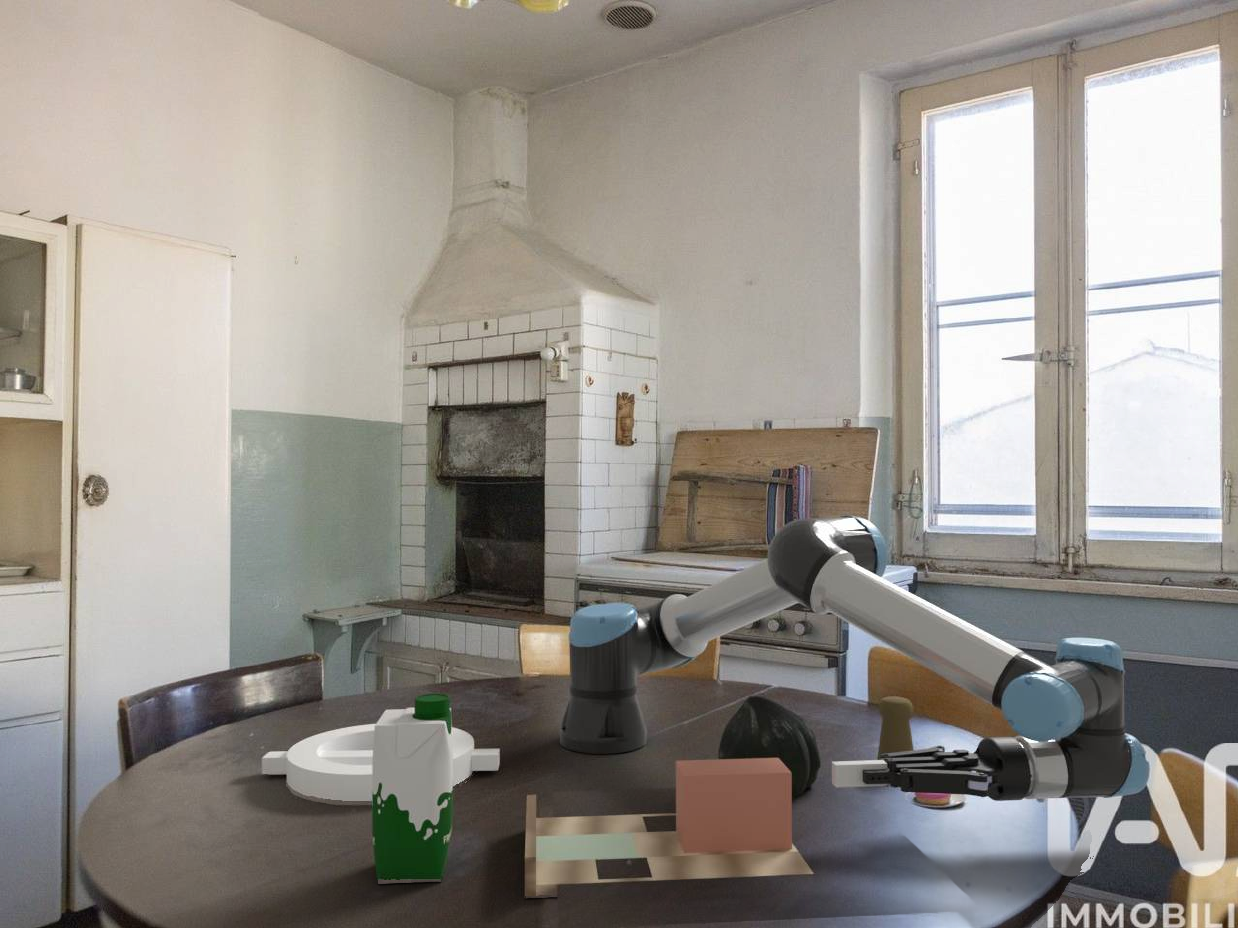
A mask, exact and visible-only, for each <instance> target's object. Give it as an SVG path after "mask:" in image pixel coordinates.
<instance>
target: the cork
mask: <svg viewBox="0 0 1238 928" xmlns="http://www.w3.org/2000/svg"><path fill="white" fill-rule="evenodd" d="M878 703H879V704H878V712H879V715H880V717H881V718H882V719H881V727H880V734H879V736H880V737H879V742H878V743H879V744H878V749H877V750H878V752H877V759H876V760H881V754H884V753H895V752H904V751H912V750H915V749H914V745H913V737H912V729H911V723H910V719H911V718H912V717H913V713H914V707H913V704H912V702H911V700H909V699H908V698H906V697H901V696H897V695H896V696H891V695H890V696H885V697H883V698H881V700H880V701H879V702H878Z"/></svg>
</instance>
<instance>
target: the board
mask: <svg viewBox="0 0 1238 928" xmlns="http://www.w3.org/2000/svg"><path fill="white" fill-rule="evenodd" d="M525 812H526V813H525V814H526V815H525V817H526V818H525V842H524V843H525V846H524V847H525V848H524V897H525V896H538V895H559V894H558V885H577V884H578V885H579V884H580V885H581V884H603V883H623V882H625V883H626V882H650V881H651V882H652V881H654V882H655V881H671V880H672V881H675V880H676V881H677V880H696V879H697V880H699V879H702V880H703V879H723V878H725V879H726V878H746V877H747V878H748V877H749V878H750V877H771V876H772V877H773V876H774V877H775V876H777V877H778V876H797V875H798V876H799V875H814V872H813V870H812V869H811V867H810V866H809V865H808V863H807V862H806V860H805V859H804V857H803V856H802V854H801V853H800V852H799V850H798V849H797V847H796V846H795V845H794V844H793V842H792V849H778V850H752V851H726V852H700V853H683V850H682V847H681V845H680V842H679V840H678V837H677V835H676V830H675V831H673V830H672V831H669V830H668V831H648V830H647V826H646V824H645V820H644V818H645V817H668V816H669V817H670V816H671V817H672V816H673V817H674V816H675V817H676V812H674V813H673V812H672V813H671V812H670V813H646V814H645V813H644V814H643V813H641V814H640V813H639V814H615V815H613V814H612V815H611V814H610V815H588V816H587V815H586V816H585V815H584V816H557V817H555V816H554V817H537V794H527V795H526V811H525ZM643 817H644V818H643ZM614 833H632V837H633V841H634V844H635V848H636V852H637V855H638V858H637V859H645V858H646V860H647V864H648V867H649V871H650V874H651V877H631V878H630V877H628V878H607V879H606V878H605V879H604V878H602V879H599V876H598V870H597V863H596V860H595V859H588V860H563V861H562V860H561V861H537V862H536V836H558V835H586V834H614Z"/></svg>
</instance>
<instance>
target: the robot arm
mask: <svg viewBox="0 0 1238 928" xmlns="http://www.w3.org/2000/svg"><path fill="white" fill-rule="evenodd" d="M888 554H889V553H888V548H887V543H886V541H885V538H884V536H883V534H882V532H881V531H880V530H879V529H878V527H877V526H876V525H875V524H874V523H872V522H871V521H870V520H867V519H866V518H862V517H860V516H854V515H847V514H846V515H845V514H844V515H840V516H834V517H831V516H830V517H813V518H811V517H808V518H800V519H799V518H798V519H795V520H792V521H790V522H788V523H786V524H784V525H783V526H782V527H781V528H779V529H778V530H777V532H776V533H775V534H774V535H773V537H772V539H771V541H770V542H769V546H768V549H767V558H765V559H763V560H761V561H759V562H756V563H755V564H752V565H750V566H748V567H747V568H744V569H743V570H741V571H738V572H736V573H735V574H732V575H730V576H728V577H726V578H724V579H722V580H719V581H717V582H716V583H713V584H711V585H710V586H707V587H705V588H703V589H701V590H700V591H697V592H695V593H693V594H691V595H688V596H687V595H684V594H681V593H679V594H678V593H677V594H675V593H674V594H672V595H669V596H668V597H665V598H662V599H661V600H659V601H657V602H654V603H652V604H650V605H648V606H644V607H638V608H636V607H635V606H634V605H633V604H631V603H628V602H627V603H626V602H608V603H597V604H592V605H589V606H584V607H583V608H580V609H579V610H576V611H575V612H574V613H573V615H572V616H571V618H570V625H569V626H570V627H569V628H570V629H569V634H568V641H569V642H568V643H569V699H568V702H567V705H566V710H565V712H564V715H563V718H562V722H561V725H560V728H559V745H561V747H564V748H565V749H568V750H571V751H573V752H578V753H583V754H597V755H599V754H600V755H602V754H603V755H606V754H607V755H609V754H621V753H627V752H631V751H635V750H638V749H641V748H643V747H644V746H646V745H647V741H648V738H647V737H648V732H647V727H646V723H645V721H644V716H643V713H642V710H641V708H640V703H639V701H638V700H639V699H638V696H637V693H638V692H637V688H638V687H637V676H639V675H644V674H647V673H653V672H659V671H662V670H663V671H664V670H668V669H676V668H680V667H683V666H685V665H688V664H689V663H691V662H693V661H694V660H695V659H696V658H697V657H698V656H699V655H701V654H702V653H704V651H705V650H706V648H707V646H708V643H709V642H711V641H713V640H716V639H717V638H719V637H722V636H724V635H727V634H729V633H731V632H734V631H736V630H738V629H741V628H743V627H745V626H747V625H750V624H752V623H755V622H758V621H759V620H762V619H764V618H767V617H769V616H771V615H773V614H776V613H778V612H780V611H782V610H784V609H787V608H789V607H792V606H794V605H796V604H801V605H802V606H804V607H805V608H807V609H809V610H811V611H813V612H814V613H815V614H818V615H825V614H829V613H831V614H832V615H833V616H836V617H838V618H839V619H841V620H842V621H845V622H847V624H850V625H852V626H853V627H855V628H857V629H858V630H859V631H862V632H864V633H866V634H867V635H869V636H871V637H872V638H874V639H876V640H877V641H880V642H881V643H882V644H884V645H886V646H888V647H890V648H892V649H893V650H895V651H897V652H898V653H901V654H902V655H904V656H906V657H907V658H910V660H912V661H914V662H916V663H918V664H919V665H921V666H923V667H924V668H926V669H928V670H930V671H932V672H934V673H935V674H936V675H939V676H940V677H942V678H944V679H946V680H947V681H948V682H951V683H952V684H955V685H956V686H958V687H959V688H961V689H963V690H965V691H967V692H969V693H971V694H972V695H974V696H975V697H977V698H979V699H981V700H982V701H984V702H986V703H987V704H990V705H991V706H992V707H994V708H997V709H998V710H1000V711H1001V712H1002V714H1003V717H1004V719H1005V721H1006V722H1007V723H1008V725H1009V726H1010V727H1011V729H1012V730H1013V731H1014V732H1015V733H1016V734H1017V735H1016V736H1015V737H1011V736H992V737H991V736H990V737H989V736H988V737H985V738H982V739H981V740H980V742H979V743H978V745H977V748H976V749H975V751H974V752H970V751H969V750H966V749H953V750H952V751H945V750H946V749H945V746H942V745H935V746H933V747H929V748H922V749H914V750H912V751H904V752H895V753H884V754H881V760H877V759H871V760H869V759H867V760H866V759H865V760H844V761H843V760H840V761H831V784H832V785H833V787H834V788H860V787H861V788H862V787H889V786H890V787H891V788H900V791H901V792H903V793H908V792H910V793H914V794H915V793H940V794H964V795H965V796H966V795H967V796H968V795H969V796H975V797H979V798H986V797H988V798H989V799H991V800H993V801H995V802H996V801H997V802H998V801H999V802H1005V801H1008V802H1009V801H1021V800H1023V799H1025V800H1036V801H1037V802H1038V803H1045V801H1046V799H1065V798H1066V799H1067V798H1071V799H1072V798H1102V799H1103V798H1105V799H1107V798H1109V799H1110V798H1114V797H1123V796H1124V797H1125V796H1130V795H1135V794H1137V793H1140V792H1141V791H1143V790H1144V788H1146V786H1147V783H1148V782H1149V780H1150V779H1149V778H1150V763H1149V761H1148V760H1147V758H1146V754H1147V751H1146V750H1145V748H1144V746H1143V745H1142V743H1141V742H1140V740H1138V739H1137V738H1136V737H1135V736H1133V735H1131V733H1130V734H1129V733H1126V730H1125V679H1124V677H1125V674H1126V670H1125V668H1124V660H1123V659H1124V658H1123V657H1124V656H1123V651H1122V648H1121V646H1120V645H1119V644H1117V643H1116V642H1113V641H1111V640H1107V639H1102V638H1094V637H1093V638H1092V637H1069V638H1068V637H1067V638H1063V639H1060V640H1059V641H1058V642H1057V645H1056V656H1055V658H1054V662H1055V664H1053V665H1049V664H1048V663H1045V662H1044V661H1042V660H1040V659H1038V658H1036V657H1034V656H1032V655H1030V654H1028V653H1026V652H1024V650H1021V649H1020V648H1017V647H1015V646H1014V645H1012V644H1010V643H1008V642H1006V641H1004V640H1002V639H1000V638H998V637H996V636H994V635H993V634H990V633H989V632H986V631H985V630H983V629H981V628H979V627H977V626H975V625H973V624H971V623H969V622H967V621H966V620H964V619H963V618H960V617H958V616H956V615H954V614H952V613H950V612H948V611H946V610H945V609H943V608H942V607H941V608H940V607H939V606H937V605H935V604H933V603H931V602H929V601H927V600H925V599H923V598H921V597H919V596H917V595H915V594H914V593H912V592H910V591H908V590H906V589H904V588H902V587H900V586H898V585H897V584H894V583H892V582H891V581H889V580H887V579H885V578H883V576H884V575H885V573H886V568H887V564H888V561H889V560H888V556H889V555H888Z"/></svg>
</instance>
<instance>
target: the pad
mask: <svg viewBox="0 0 1238 928" xmlns="http://www.w3.org/2000/svg"><path fill="white" fill-rule="evenodd" d="M588 859H595V861H596V860H597V861H599V860H621V859H622V860H623V859H624V860H625V859H639V858H638V855H637V852H636V848H635V844H634V841H633V837H632V833H614V834H586V835H558V836H536V862H537V861H561V860H562V861H563V860H588Z"/></svg>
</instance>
